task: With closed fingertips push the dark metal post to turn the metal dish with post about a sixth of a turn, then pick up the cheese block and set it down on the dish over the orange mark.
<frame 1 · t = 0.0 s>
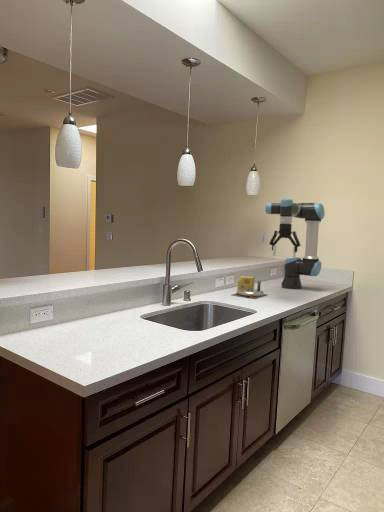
hand: (284, 256, 250), 28 cm above the counter, fingers open, 13 cm apart
metal dish with post: (250, 287, 263), point 5 cm above the counter, hinge at 0.0°
base plate: (249, 295, 264), on the counter
cheese: (246, 290, 282), on the counter
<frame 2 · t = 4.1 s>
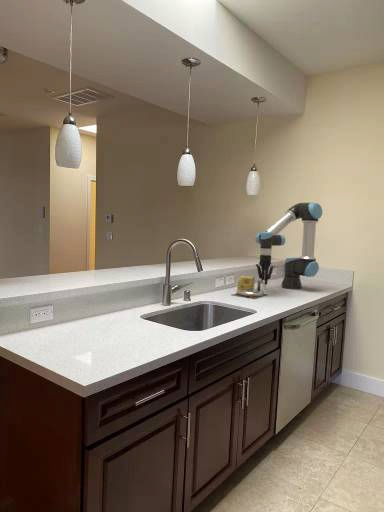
hand: (264, 289, 265), 4 cm above the counter, fingers closed
metal dish with post: (250, 287, 263), point 5 cm above the counter, hinge at 0.0°, touching gripper
everything else where it was.
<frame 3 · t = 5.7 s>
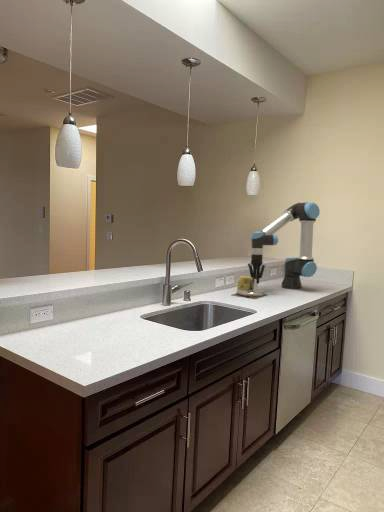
hand: (255, 288, 268), 4 cm above the counter, fingers closed
metal dish with post: (250, 287, 263), point 5 cm above the counter, hinge at 53.6°, touching gripper
everything else where it was.
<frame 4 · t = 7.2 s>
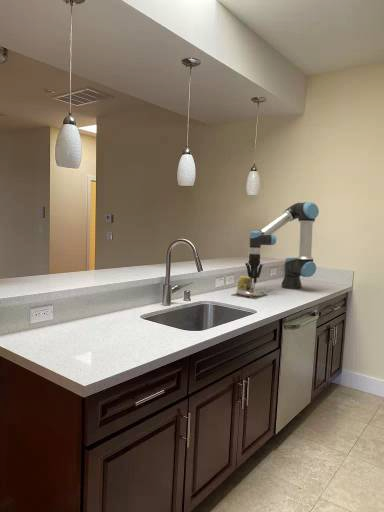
hand: (253, 287, 269), 4 cm above the counter, fingers closed
metal dish with post: (250, 287, 263), point 5 cm above the counter, hinge at 70.3°
everything else where it was.
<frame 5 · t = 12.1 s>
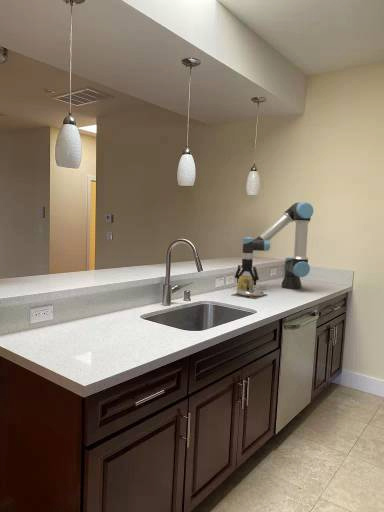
hand: (246, 288, 282), 1 cm above the counter, fingers closed on cheese, 11 cm apart
cheese: (246, 290, 282), on the counter, touching gripper
everything else where it was.
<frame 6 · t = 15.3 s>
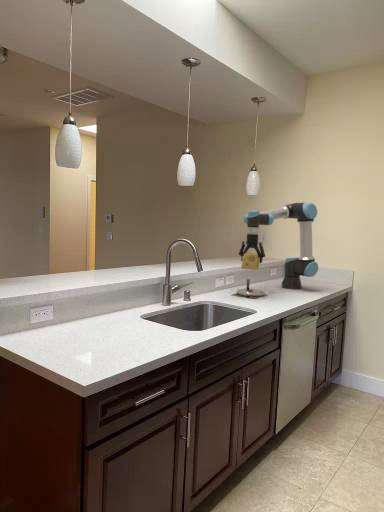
hand: (251, 266, 258), 20 cm above the counter, fingers closed on cheese, 11 cm apart
cheese: (251, 268, 258), point 18 cm above the counter, touching gripper
everything else where it was.
when the fingers open (5 cm above the counter, at t = 18.5 s): cheese stays where it is, resting on metal dish with post.
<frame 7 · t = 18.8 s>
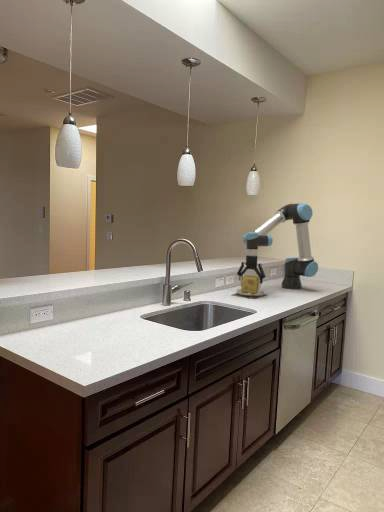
hand: (250, 287, 259), 6 cm above the counter, fingers open, 13 cm apart
metal dish with post: (250, 287, 263), point 5 cm above the counter, hinge at 70.3°, touching cheese
cheese: (250, 291, 260), point 3 cm above the counter, touching metal dish with post
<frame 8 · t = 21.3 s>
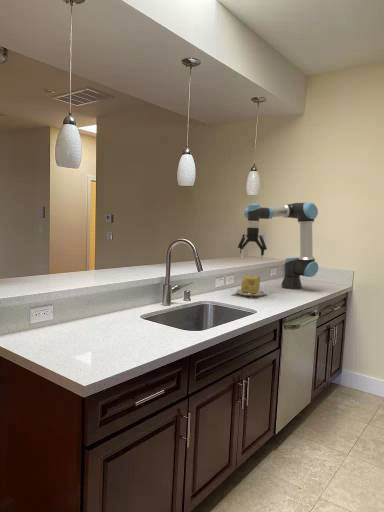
hand: (251, 259, 258), 25 cm above the counter, fingers open, 13 cm apart
nothing on the counter moved.
at the end: metal dish with post at +70° (first picture: +0°); cheese inside the target area on the metal dish with post (0.1 cm from its centre), point 3.3 cm above the metal dish with post's base; cheese tilted 4° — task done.
